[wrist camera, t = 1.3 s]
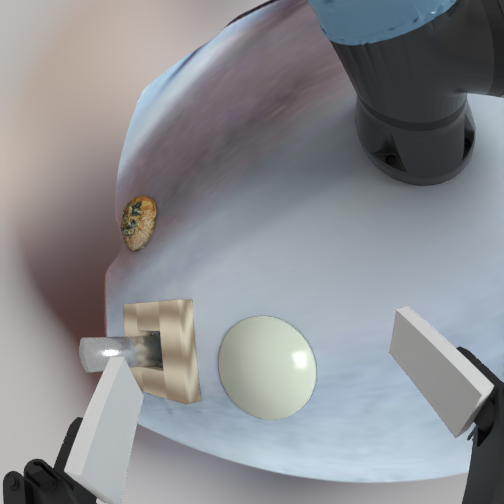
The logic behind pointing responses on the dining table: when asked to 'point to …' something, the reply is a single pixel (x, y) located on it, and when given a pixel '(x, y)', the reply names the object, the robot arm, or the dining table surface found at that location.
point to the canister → (120, 351)
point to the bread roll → (138, 222)
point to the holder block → (166, 348)
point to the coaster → (267, 367)
